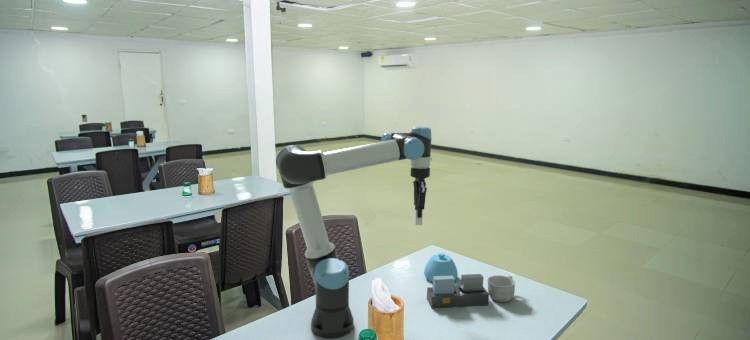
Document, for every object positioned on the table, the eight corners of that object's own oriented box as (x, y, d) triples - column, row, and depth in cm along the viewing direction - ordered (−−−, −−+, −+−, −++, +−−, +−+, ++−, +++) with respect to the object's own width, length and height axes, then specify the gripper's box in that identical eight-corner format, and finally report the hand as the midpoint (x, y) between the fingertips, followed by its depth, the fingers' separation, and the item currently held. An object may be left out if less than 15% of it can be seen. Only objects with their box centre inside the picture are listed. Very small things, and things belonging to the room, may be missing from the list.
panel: (433, 303, 161) (434, 279, 159) (432, 299, 164) (432, 276, 162) (453, 302, 162) (454, 278, 160) (451, 298, 165) (452, 275, 163)
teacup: (501, 307, 160) (503, 289, 159) (480, 296, 169) (481, 278, 168) (524, 298, 168) (526, 280, 167) (503, 287, 177) (504, 270, 175)
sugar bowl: (422, 270, 193) (423, 247, 191) (454, 271, 193) (455, 248, 191) (425, 285, 179) (426, 260, 176) (459, 286, 178) (461, 261, 176)
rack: (431, 309, 159) (432, 282, 157) (426, 298, 167) (427, 273, 164) (488, 306, 162) (490, 280, 160) (481, 296, 169) (482, 271, 167)
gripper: (434, 169, 154) (431, 229, 159) (425, 163, 167) (423, 219, 171) (414, 170, 153) (412, 230, 158) (407, 163, 166) (406, 219, 170)
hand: (418, 224), depth 164 cm, fingers closed
